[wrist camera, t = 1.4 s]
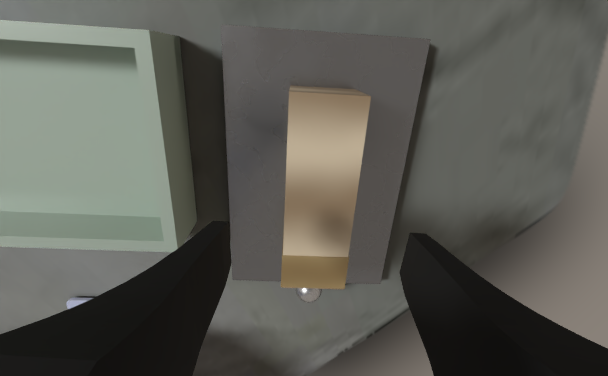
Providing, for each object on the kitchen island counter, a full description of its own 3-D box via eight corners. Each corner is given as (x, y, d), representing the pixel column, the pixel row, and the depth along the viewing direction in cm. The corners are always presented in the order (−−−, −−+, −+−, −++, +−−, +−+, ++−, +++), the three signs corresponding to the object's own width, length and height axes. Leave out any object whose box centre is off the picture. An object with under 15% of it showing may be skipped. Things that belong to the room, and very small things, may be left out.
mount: (376, 277, 25) (389, 310, 22) (234, 273, 25) (225, 306, 21) (423, 40, 18) (452, 35, 15) (224, 26, 17) (208, 18, 14)
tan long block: (336, 252, 23) (344, 289, 19) (283, 250, 23) (280, 288, 19) (356, 89, 18) (372, 96, 14) (289, 85, 18) (287, 91, 14)
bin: (197, 221, 22) (178, 252, 19) (-61, 211, 22) (-134, 242, 18) (179, 36, 18) (148, 30, 14) (-157, 13, 17) (-285, 0, 13)
